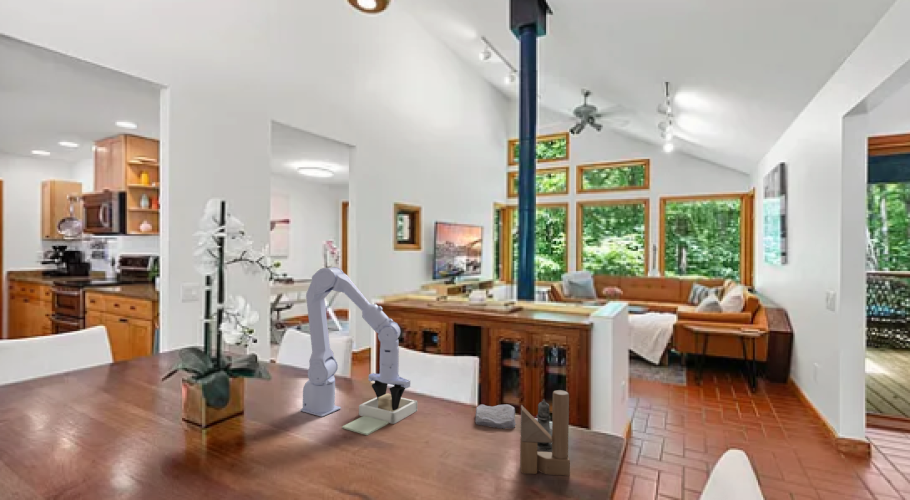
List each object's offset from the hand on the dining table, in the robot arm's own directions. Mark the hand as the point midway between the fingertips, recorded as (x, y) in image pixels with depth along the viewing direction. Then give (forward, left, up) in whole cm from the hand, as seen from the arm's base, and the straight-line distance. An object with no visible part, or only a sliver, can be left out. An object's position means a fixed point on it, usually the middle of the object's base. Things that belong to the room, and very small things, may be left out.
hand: (388, 407), depth 129 cm
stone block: (+31, +10, -2) cm, 33 cm away
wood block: (0, 0, -2) cm, 2 cm away
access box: (0, 0, -2) cm, 2 cm away
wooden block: (+52, -9, -2) cm, 52 cm away
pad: (0, -11, -2) cm, 11 cm away
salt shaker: (+47, +3, -2) cm, 48 cm away
